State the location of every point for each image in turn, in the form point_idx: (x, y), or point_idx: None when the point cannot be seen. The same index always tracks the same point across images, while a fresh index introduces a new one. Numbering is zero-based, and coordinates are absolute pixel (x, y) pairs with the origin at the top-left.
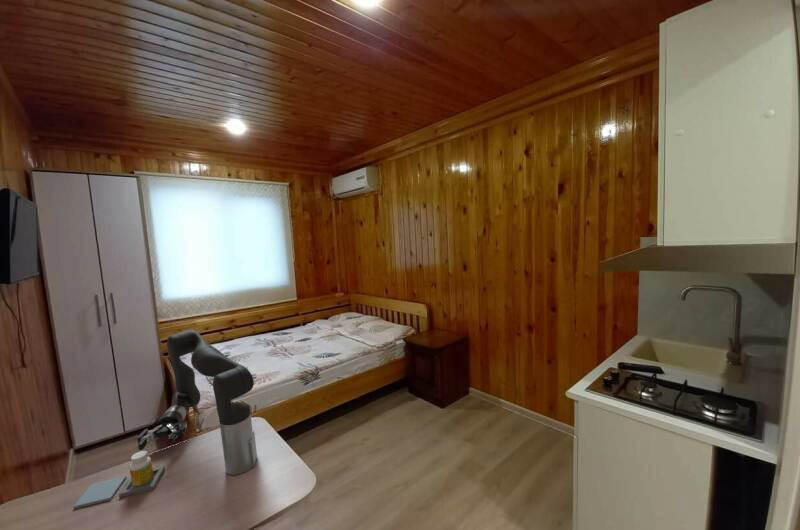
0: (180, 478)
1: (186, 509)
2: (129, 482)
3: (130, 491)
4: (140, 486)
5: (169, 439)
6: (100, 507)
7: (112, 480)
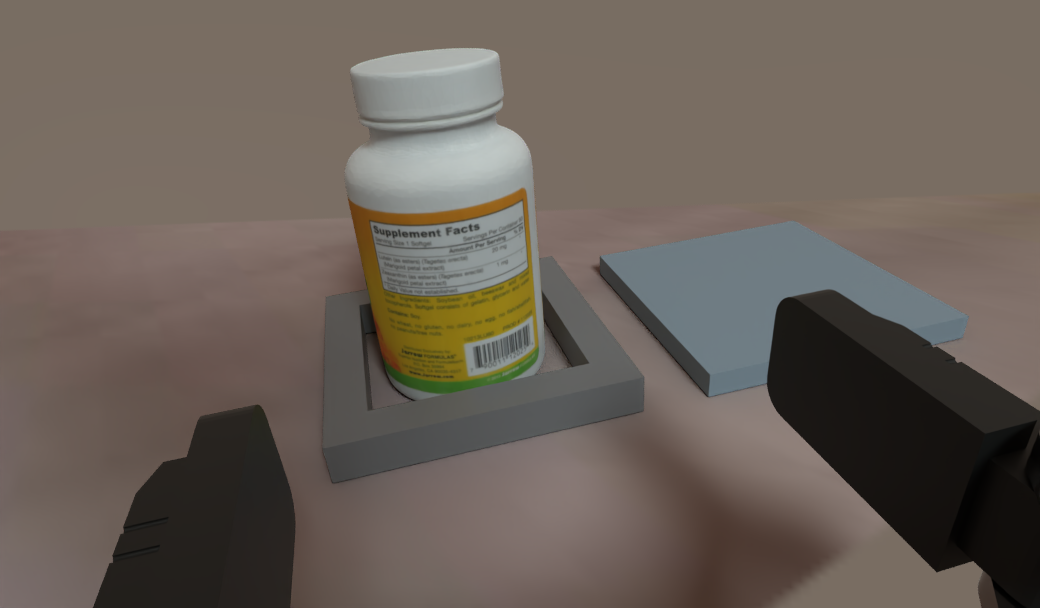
0: (136, 393)
1: (87, 257)
2: (565, 310)
3: None
4: None
5: (218, 418)
6: (615, 248)
7: None
